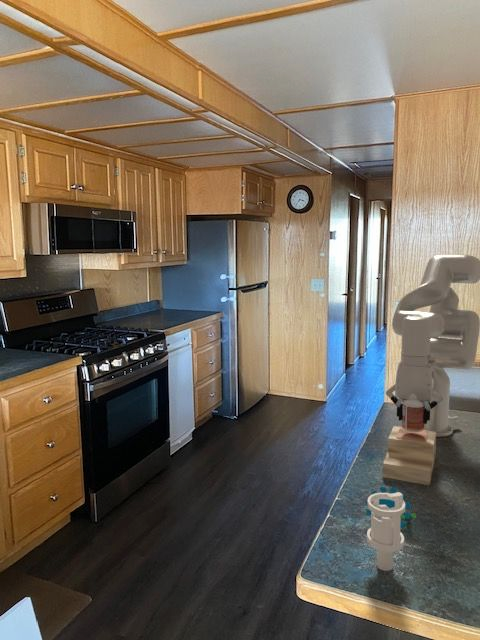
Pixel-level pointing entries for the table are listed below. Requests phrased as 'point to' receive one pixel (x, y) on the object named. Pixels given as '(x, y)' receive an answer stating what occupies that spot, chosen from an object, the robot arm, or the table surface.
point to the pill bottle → (413, 414)
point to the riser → (410, 456)
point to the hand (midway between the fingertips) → (413, 420)
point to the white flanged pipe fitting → (385, 528)
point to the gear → (390, 504)
